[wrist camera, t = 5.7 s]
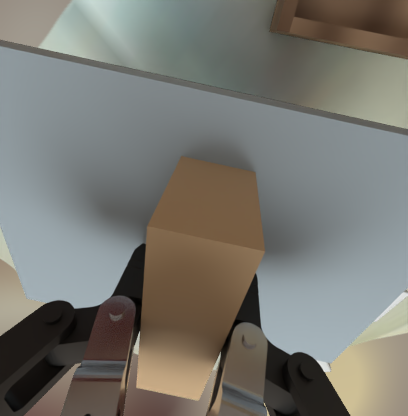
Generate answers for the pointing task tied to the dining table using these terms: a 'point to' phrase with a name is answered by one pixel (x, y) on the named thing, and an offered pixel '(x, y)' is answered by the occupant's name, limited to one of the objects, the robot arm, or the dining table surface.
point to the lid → (198, 208)
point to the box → (347, 23)
